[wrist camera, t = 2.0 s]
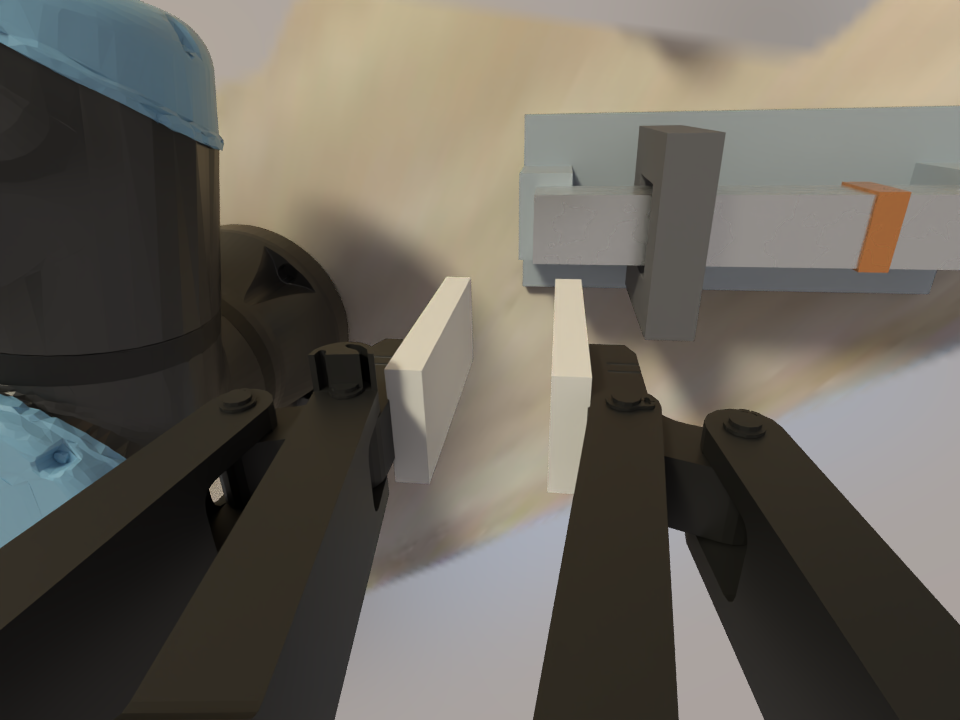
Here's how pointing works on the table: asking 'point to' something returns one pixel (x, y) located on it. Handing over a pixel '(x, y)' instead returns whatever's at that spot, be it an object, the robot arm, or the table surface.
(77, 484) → the robot arm
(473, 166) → the table surface
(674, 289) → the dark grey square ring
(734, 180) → the stand
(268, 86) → the table surface
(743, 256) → the brushed grey beam
